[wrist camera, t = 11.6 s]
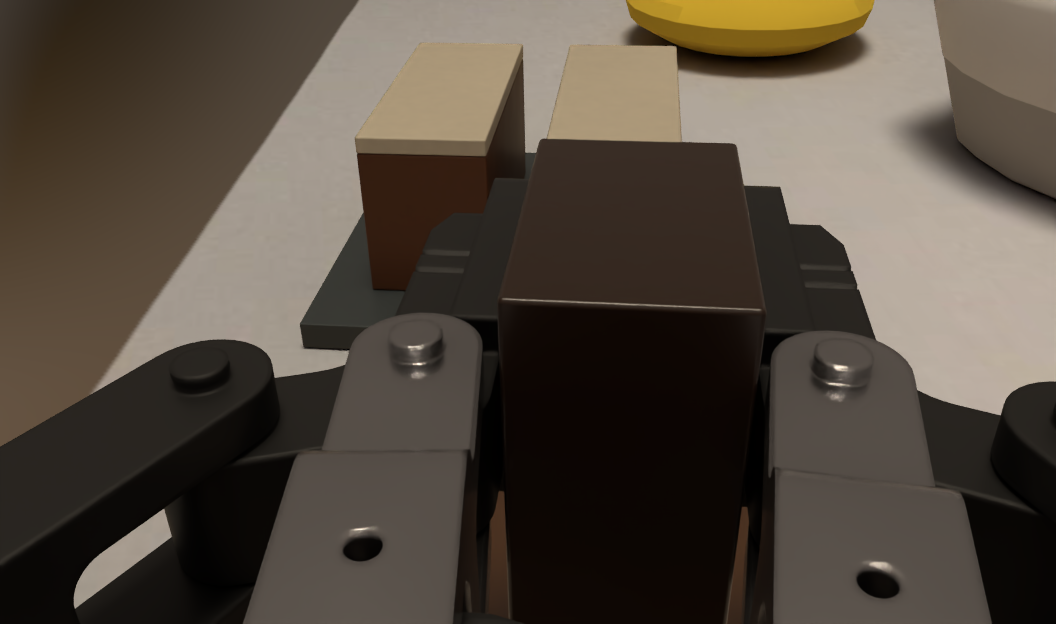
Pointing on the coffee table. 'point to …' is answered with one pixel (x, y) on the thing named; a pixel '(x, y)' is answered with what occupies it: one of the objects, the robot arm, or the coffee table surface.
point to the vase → (751, 24)
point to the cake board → (353, 294)
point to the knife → (628, 382)
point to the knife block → (499, 566)
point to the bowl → (1004, 84)
